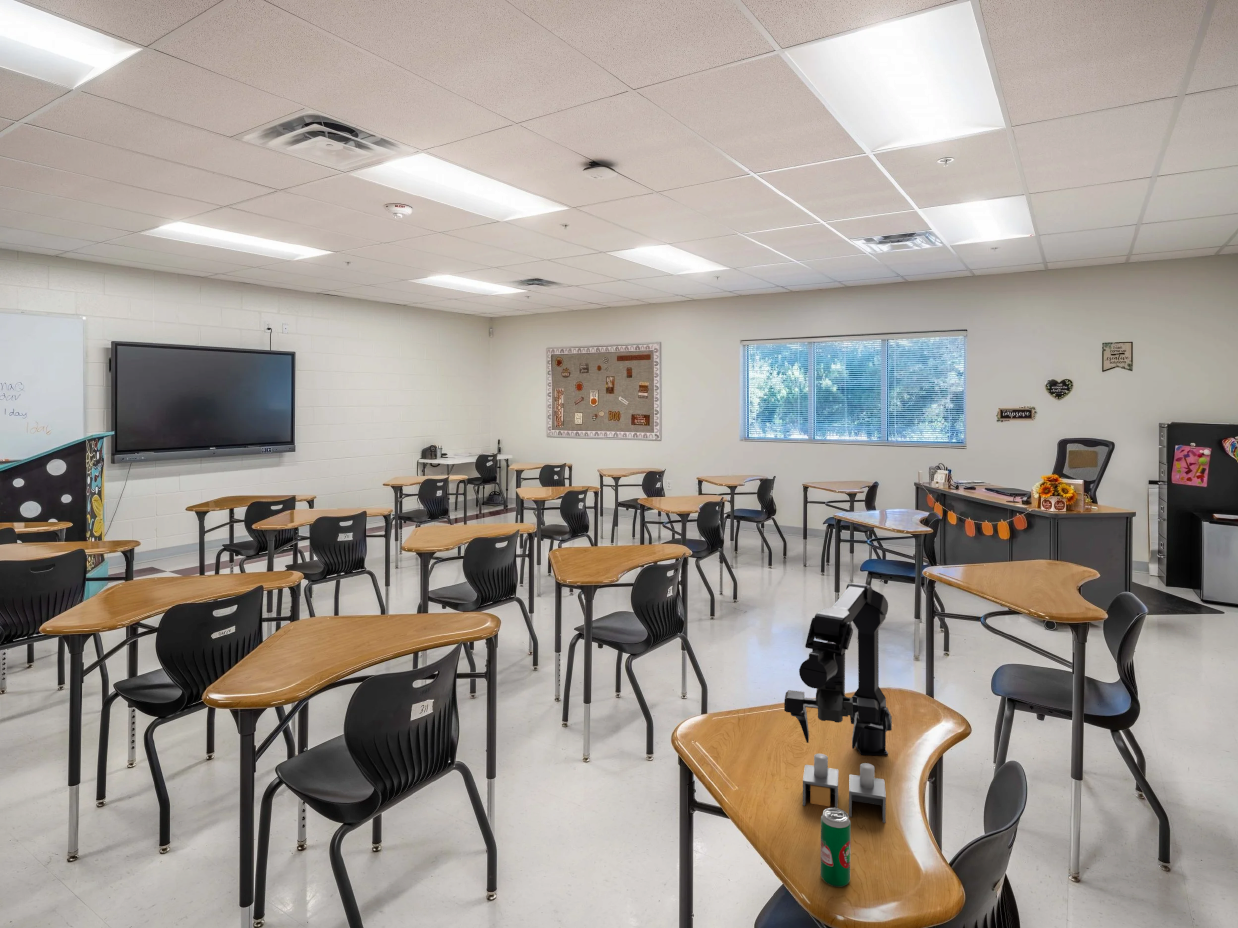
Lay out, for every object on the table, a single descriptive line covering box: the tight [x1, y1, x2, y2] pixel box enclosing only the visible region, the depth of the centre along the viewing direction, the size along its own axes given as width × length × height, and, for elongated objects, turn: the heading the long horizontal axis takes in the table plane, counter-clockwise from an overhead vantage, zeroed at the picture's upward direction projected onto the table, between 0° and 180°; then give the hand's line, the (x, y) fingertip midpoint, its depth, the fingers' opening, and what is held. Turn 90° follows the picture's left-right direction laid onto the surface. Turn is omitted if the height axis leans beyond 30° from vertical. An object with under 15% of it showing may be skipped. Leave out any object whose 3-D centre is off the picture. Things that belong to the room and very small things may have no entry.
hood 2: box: [848, 762, 887, 824], centre depth 142 cm, size 7×7×10 cm
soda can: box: [820, 807, 852, 888], centre depth 121 cm, size 5×5×12 cm
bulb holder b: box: [802, 753, 839, 809], centre depth 146 cm, size 7×7×10 cm
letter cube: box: [809, 785, 832, 807], centre depth 146 cm, size 4×4×4 cm
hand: (830, 744), depth 145 cm, fingers open, 9 cm apart
